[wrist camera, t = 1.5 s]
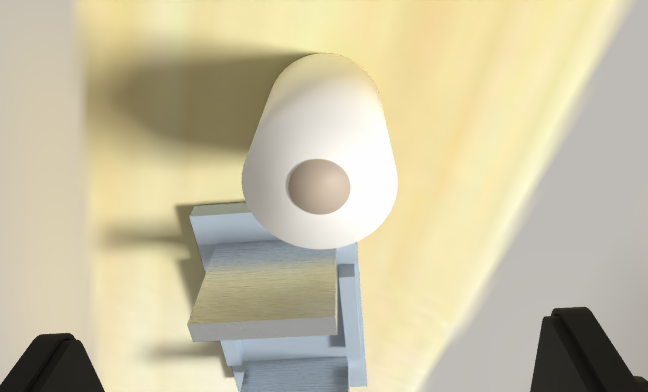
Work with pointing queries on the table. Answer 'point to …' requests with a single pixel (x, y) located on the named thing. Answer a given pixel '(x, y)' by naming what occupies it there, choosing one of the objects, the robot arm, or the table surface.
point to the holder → (243, 227)
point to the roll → (321, 156)
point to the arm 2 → (297, 375)
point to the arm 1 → (266, 292)
